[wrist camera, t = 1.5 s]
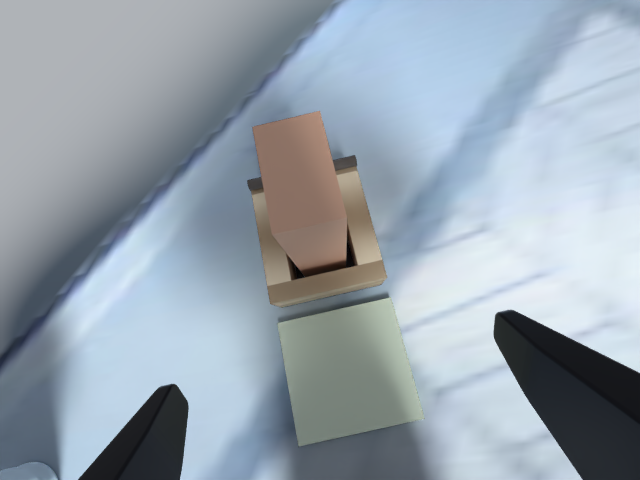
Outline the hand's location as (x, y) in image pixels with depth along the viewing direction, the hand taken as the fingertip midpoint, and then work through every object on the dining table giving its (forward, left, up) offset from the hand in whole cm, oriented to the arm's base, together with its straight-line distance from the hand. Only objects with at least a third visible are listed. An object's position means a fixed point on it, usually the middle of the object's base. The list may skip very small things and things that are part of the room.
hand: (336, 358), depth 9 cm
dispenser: (+5, +5, -13) cm, 15 cm away
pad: (-1, -1, -13) cm, 13 cm away
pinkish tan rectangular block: (+5, +5, -13) cm, 15 cm away
